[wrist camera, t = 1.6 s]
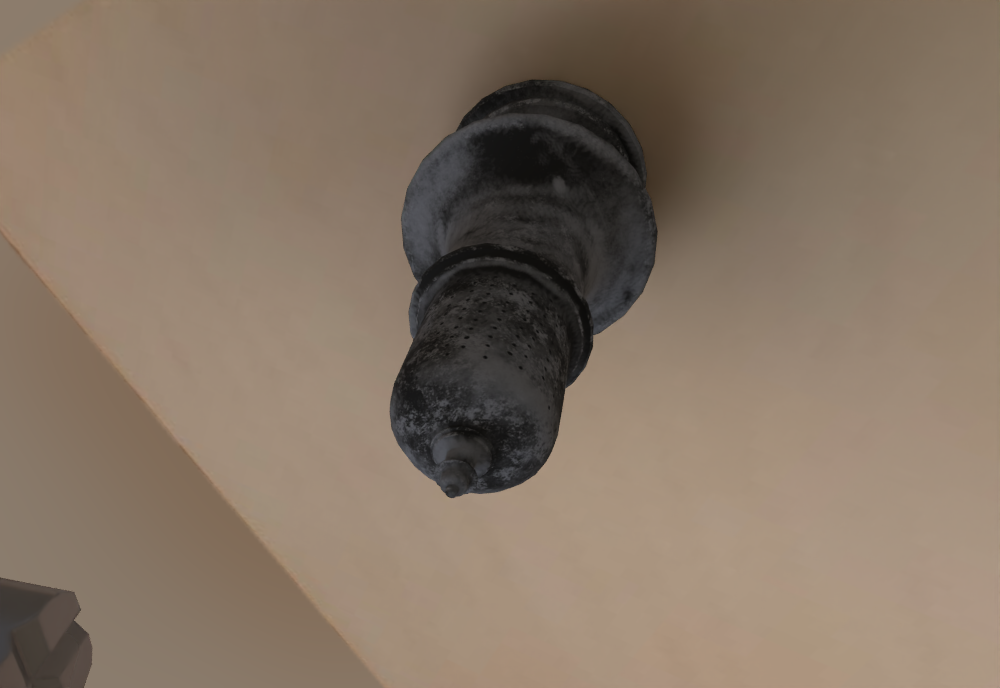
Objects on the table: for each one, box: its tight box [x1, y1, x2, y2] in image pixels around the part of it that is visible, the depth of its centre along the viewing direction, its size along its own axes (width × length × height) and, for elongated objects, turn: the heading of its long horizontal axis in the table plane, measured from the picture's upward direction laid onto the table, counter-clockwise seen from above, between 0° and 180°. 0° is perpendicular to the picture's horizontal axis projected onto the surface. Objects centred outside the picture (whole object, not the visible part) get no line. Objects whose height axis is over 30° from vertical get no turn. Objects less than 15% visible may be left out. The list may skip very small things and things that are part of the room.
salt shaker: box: [390, 80, 657, 498], centre depth 18 cm, size 6×6×12 cm
